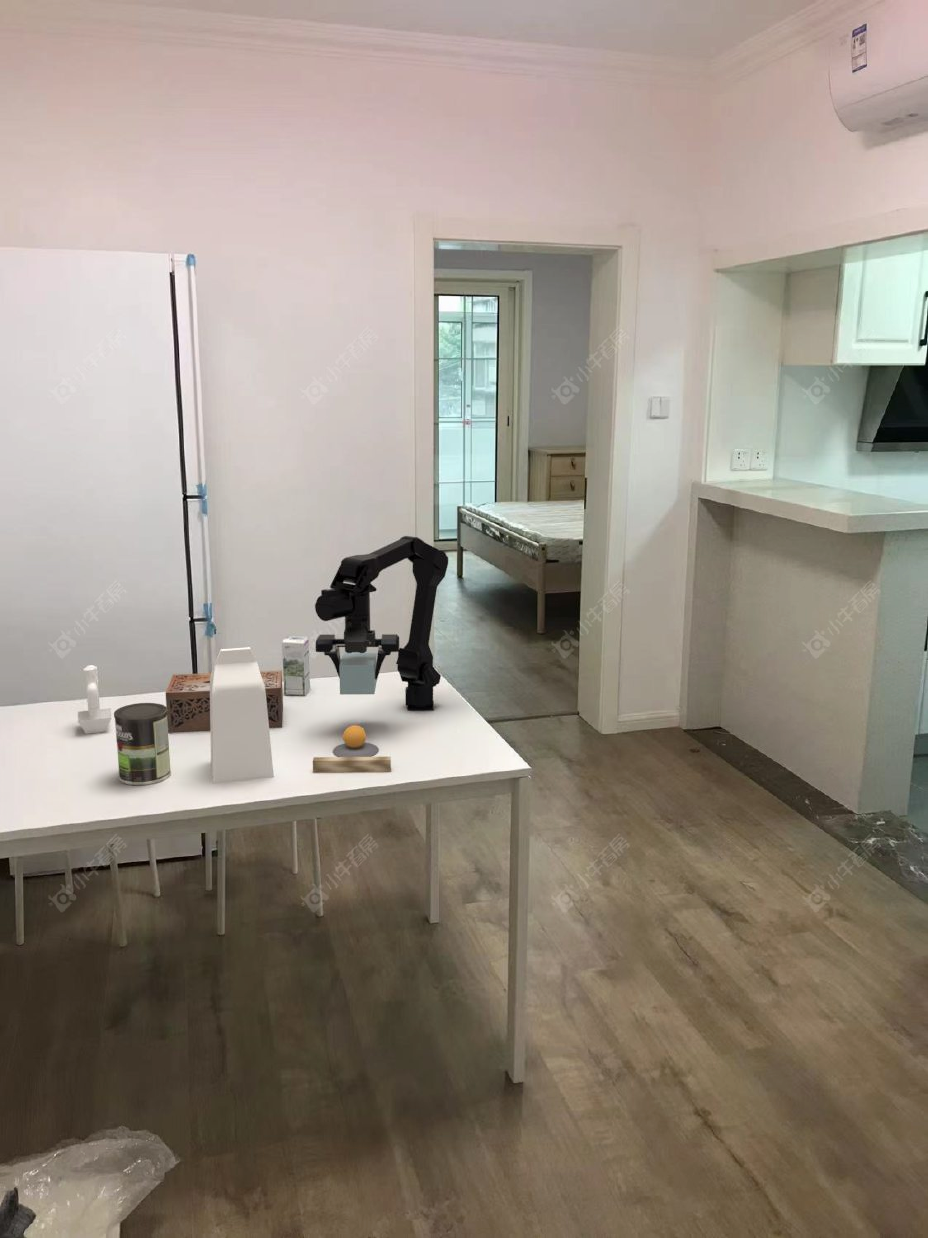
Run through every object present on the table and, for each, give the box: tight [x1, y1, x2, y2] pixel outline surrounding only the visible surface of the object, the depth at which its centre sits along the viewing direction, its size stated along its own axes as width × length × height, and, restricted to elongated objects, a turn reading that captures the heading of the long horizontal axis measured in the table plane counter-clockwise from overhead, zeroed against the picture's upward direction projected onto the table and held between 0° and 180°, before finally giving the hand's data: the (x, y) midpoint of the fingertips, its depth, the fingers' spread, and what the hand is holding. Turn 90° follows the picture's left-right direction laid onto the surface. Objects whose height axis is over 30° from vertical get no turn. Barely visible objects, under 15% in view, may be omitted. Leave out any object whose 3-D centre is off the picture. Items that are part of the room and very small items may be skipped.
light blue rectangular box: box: [339, 652, 378, 695], centre depth 229 cm, size 8×11×7 cm
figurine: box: [77, 664, 112, 735], centre depth 229 cm, size 7×9×15 cm
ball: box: [342, 724, 367, 748], centre depth 220 cm, size 5×5×5 cm
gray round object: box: [332, 741, 380, 757], centre depth 218 cm, size 10×10×1 cm
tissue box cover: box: [165, 669, 284, 734], centre depth 237 cm, size 26×14×10 cm, turn 99°
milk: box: [209, 646, 274, 784], centre depth 205 cm, size 12×12×26 cm
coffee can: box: [113, 702, 172, 786], centre depth 203 cm, size 10×10×14 cm
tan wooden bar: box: [312, 756, 392, 773], centre depth 207 cm, size 16×2×2 cm, turn 92°
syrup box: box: [281, 636, 311, 697], centre depth 257 cm, size 6×6×14 cm
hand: (358, 679), depth 229 cm, fingers closed on light blue rectangular box, 8 cm apart
